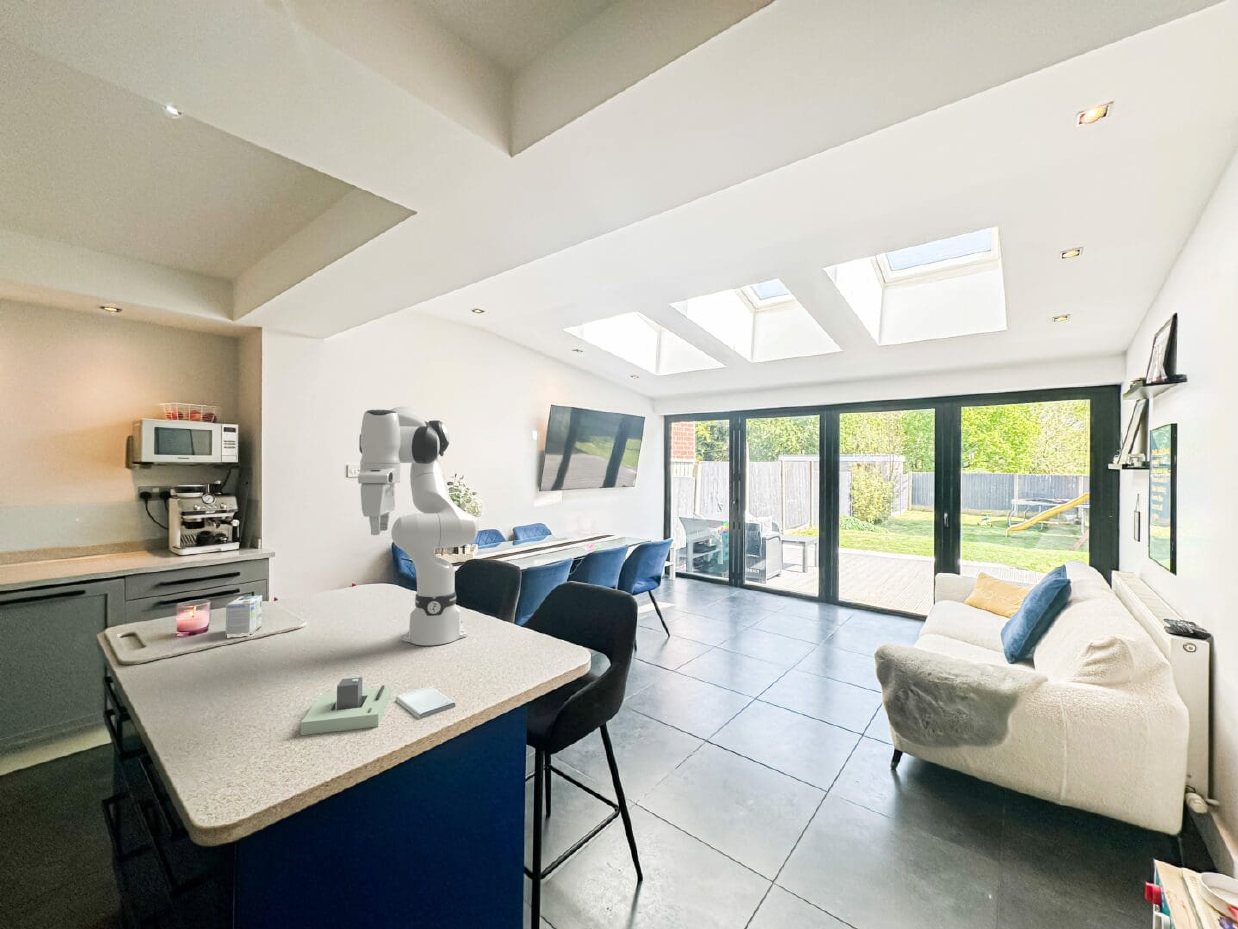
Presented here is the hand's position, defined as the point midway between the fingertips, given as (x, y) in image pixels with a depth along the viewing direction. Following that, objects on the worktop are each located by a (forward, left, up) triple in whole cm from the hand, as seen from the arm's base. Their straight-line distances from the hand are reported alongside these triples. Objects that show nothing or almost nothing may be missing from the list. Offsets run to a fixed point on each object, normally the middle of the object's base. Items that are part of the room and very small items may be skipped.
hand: (379, 532), depth 124 cm
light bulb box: (-55, -50, -37) cm, 83 cm away
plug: (+14, -3, -37) cm, 40 cm away
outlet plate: (+14, -3, -37) cm, 40 cm away
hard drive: (+12, +12, -38) cm, 42 cm away
